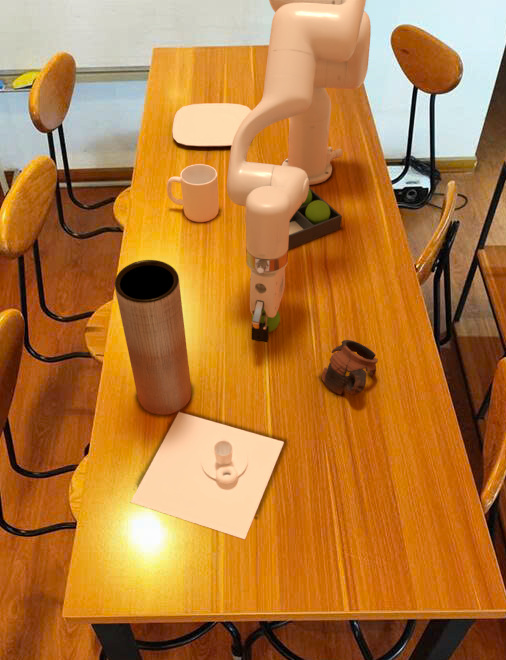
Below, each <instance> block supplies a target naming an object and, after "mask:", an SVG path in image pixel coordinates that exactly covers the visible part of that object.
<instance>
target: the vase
mask: <svg viewBox="0 0 506 660" xmlns="http://www.w3.org/2000/svg"><path fill="white" fill-rule="evenodd" d="M180 285H181V284H180V277H179V274H178V272H177V270H176V269H175V268H174V267H173V266H172V265H170V264H169V263H168V262H167V263H166V262H165V261H160V260H156V259H142V260H138V261H134V262H132V263H129V264H127V265H126V266H125V267H123V268H122V269H121V270H120V271H119V272H118V274H116V276H115V279H114V290H115V294H116V300H117V303H118V305H117V306H118V310H119V315H120V318H121V324H122V329H123V333H124V337H125V343H126V348H127V353H128V357H129V362H130V367H131V372H132V377H133V381H134V386H135V391H136V396H137V399H138V402H139V404H140V406H141V407H142V408H143V409H144V410H146V411H147V412H149V413H151V414H154V415H158V416H167V415H171V414H176V413H178V412H180V411H181V410H183V409H184V408H185V407H186V406H187V405H188V404H189V402H190V400H191V397H192V383H191V382H192V381H191V375H190V366H189V357H188V349H187V339H186V337H187V336H186V330H185V321H184V312H183V311H184V310H183V302H182V294H181V286H180Z"/></svg>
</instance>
